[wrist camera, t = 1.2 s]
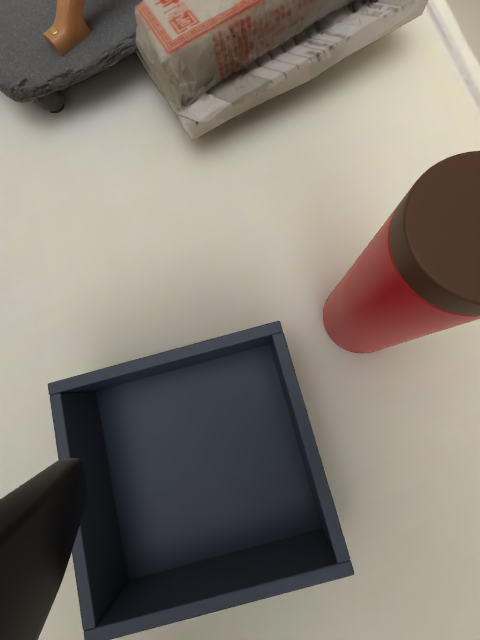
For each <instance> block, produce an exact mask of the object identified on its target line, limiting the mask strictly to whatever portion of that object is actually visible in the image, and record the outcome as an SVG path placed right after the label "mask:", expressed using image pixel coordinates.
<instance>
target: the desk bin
mask: <svg viewBox="0 0 480 640" xmlns="http://www.w3.org/2000/svg"><path fill="white" fill-rule="evenodd" d="M48 390H49V395H50V403H51V409H52V416H53V423H54V430H55V437H56V444H57V451H58V458H59V460H61V459H70V458H79V459H81V460H82V461H83V464H84V468H85V473H86V478H87V483H88V489H89V496H88V501H87V505H86V508H85V511H84V514H83V517H82V520H81V524H80V527H79V530H78V533H77V536H76V539H75V543H74V546H73V549H72V556H73V562H74V569H75V576H76V583H77V590H78V597H79V604H80V611H81V618H82V625H83V630H84V639H85V640H110V639H114V638H118V637H122V636H125V635H129V634H133V633H137V632H141V631H144V630H148V629H152V628H156V627H159V626H163V625H167V624H171V623H174V622H178V621H182V620H186V619H189V618H193V617H197V616H201V615H204V614H208V613H212V612H216V611H219V610H223V609H227V608H231V607H235V606H238V605H242V604H246V603H250V602H253V601H257V600H261V599H265V598H268V597H272V596H276V595H280V594H283V593H287V592H291V591H295V590H298V589H302V588H306V587H310V586H313V585H317V584H321V583H325V582H329V581H332V580H336V579H340V578H344V577H347V576H351V575H354V570H353V567H352V563H351V561H350V556H349V553H348V550H347V546H346V543H345V539H344V536H343V533H342V529H341V526H340V523H339V519H338V516H337V512H336V509H335V506H334V502H333V499H332V496H331V492H330V489H329V485H328V482H327V479H326V475H325V472H324V468H323V465H322V462H321V458H320V455H319V452H318V448H317V445H316V441H315V438H314V435H313V431H312V428H311V425H310V421H309V418H308V414H307V411H306V408H305V404H304V401H303V397H302V394H301V391H300V387H299V384H298V381H297V377H296V374H295V370H294V367H293V364H292V360H291V357H290V354H289V350H288V347H287V343H286V340H285V337H284V333H283V330H282V327H281V323H280V321H276V322H272V323H269V324H265V325H261V326H258V327H254V328H250V329H247V330H243V331H239V332H236V333H232V334H228V335H225V336H221V337H217V338H214V339H210V340H206V341H203V342H199V343H195V344H192V345H188V346H184V347H181V348H177V349H173V350H170V351H166V352H162V353H159V354H155V355H151V356H147V357H144V358H140V359H136V360H133V361H129V362H125V363H122V364H118V365H114V366H111V367H107V368H103V369H100V370H96V371H92V372H89V373H85V374H81V375H78V376H74V377H70V378H67V379H63V380H59V381H56V382H52V383H49V384H48Z"/></svg>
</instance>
